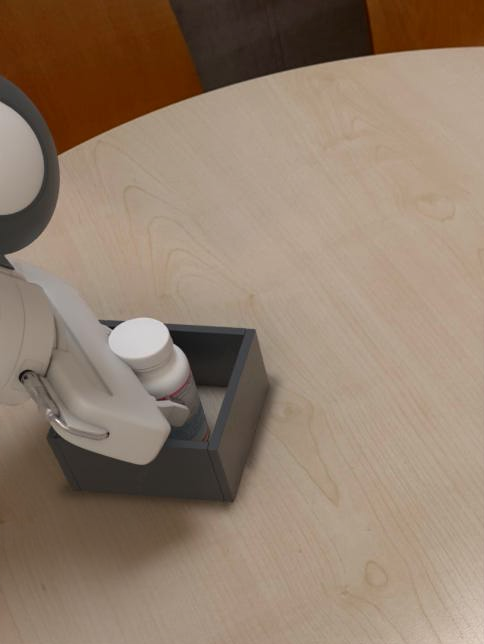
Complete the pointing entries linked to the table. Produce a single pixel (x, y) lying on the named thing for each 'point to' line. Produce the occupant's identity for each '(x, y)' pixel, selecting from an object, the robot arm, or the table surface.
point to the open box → (184, 455)
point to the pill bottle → (161, 370)
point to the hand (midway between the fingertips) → (163, 386)
